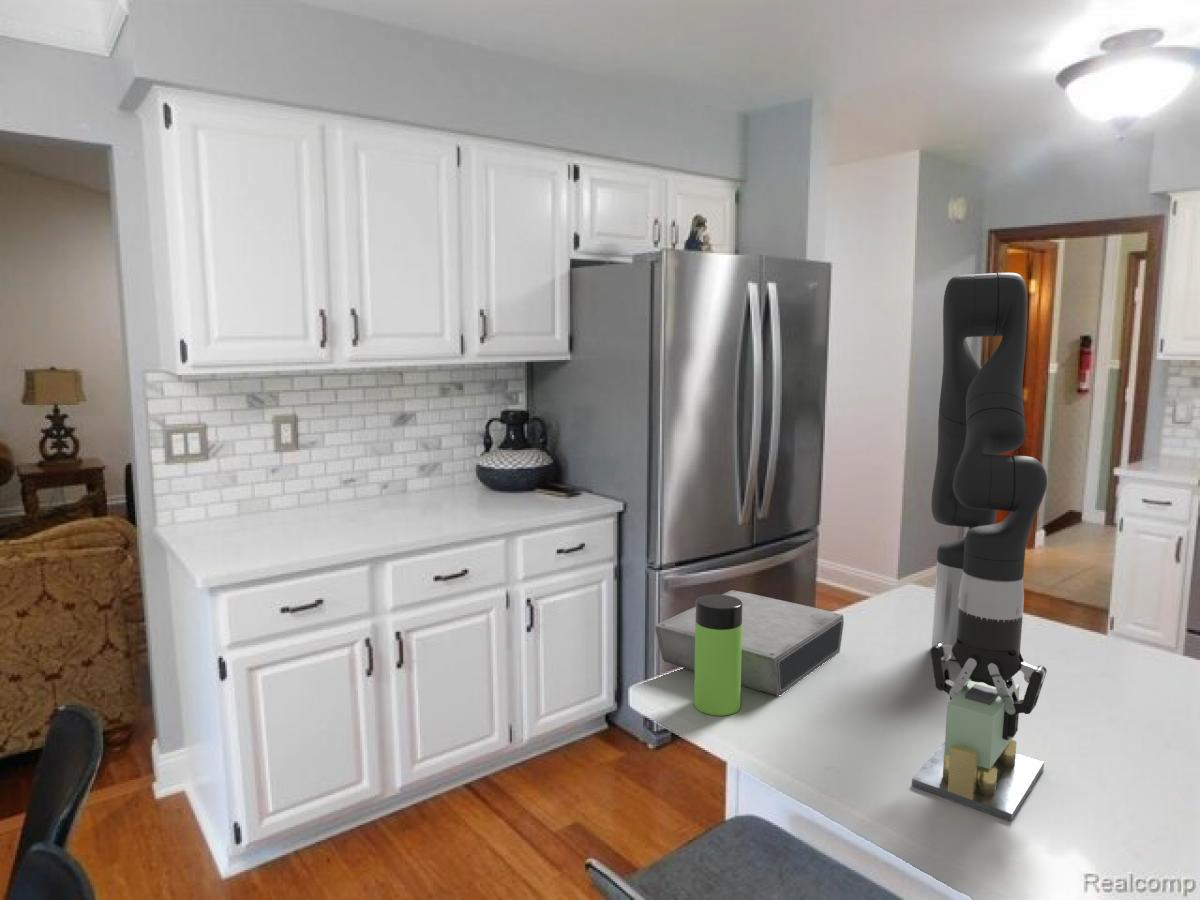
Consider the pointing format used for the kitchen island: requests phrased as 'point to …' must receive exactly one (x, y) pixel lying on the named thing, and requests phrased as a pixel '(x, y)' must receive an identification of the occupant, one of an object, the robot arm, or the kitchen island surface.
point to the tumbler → (718, 654)
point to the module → (977, 722)
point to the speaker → (764, 641)
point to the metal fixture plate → (980, 779)
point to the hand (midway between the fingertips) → (981, 729)
